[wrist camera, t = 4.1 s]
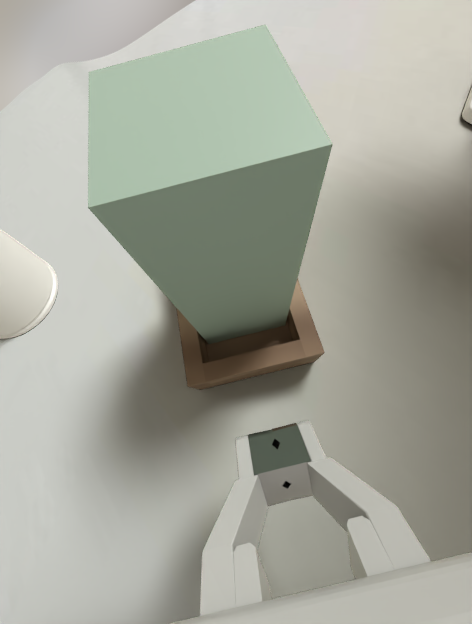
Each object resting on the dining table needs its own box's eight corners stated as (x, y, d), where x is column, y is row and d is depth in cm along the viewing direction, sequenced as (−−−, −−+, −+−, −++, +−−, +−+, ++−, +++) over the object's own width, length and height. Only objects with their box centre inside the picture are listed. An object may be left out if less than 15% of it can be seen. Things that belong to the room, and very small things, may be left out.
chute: (314, 362, 19) (324, 352, 16) (200, 389, 19) (187, 386, 16) (234, 131, 29) (231, 97, 26) (161, 150, 29) (149, 118, 26)
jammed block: (285, 325, 19) (332, 144, 6) (208, 344, 19) (88, 207, 6) (264, 260, 21) (265, 24, 8) (196, 277, 21) (88, 72, 8)
